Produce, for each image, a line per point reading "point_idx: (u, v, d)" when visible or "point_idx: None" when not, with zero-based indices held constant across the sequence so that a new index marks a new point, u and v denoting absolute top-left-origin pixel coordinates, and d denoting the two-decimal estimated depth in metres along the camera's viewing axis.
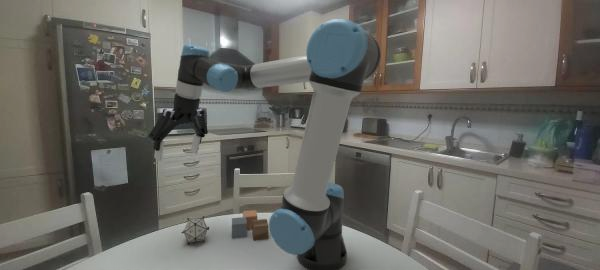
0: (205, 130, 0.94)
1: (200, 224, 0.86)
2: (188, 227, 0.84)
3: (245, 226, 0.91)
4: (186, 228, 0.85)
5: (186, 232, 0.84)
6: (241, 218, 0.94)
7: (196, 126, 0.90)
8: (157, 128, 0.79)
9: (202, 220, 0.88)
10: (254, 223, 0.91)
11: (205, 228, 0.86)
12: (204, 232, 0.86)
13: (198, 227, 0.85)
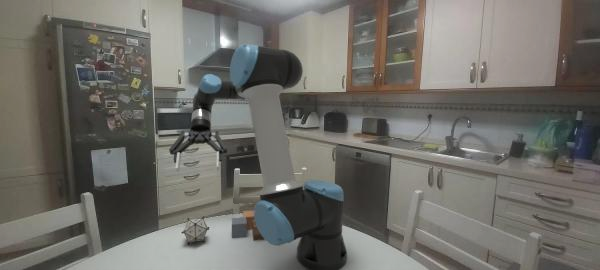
0: (223, 146, 1.01)
1: (200, 224, 0.86)
2: (188, 227, 0.84)
3: (245, 226, 0.91)
4: (186, 228, 0.85)
5: (186, 232, 0.84)
6: (241, 218, 0.94)
7: (212, 142, 1.01)
8: None
9: (202, 220, 0.88)
10: (254, 223, 0.91)
11: (205, 228, 0.86)
12: (204, 232, 0.86)
13: (198, 227, 0.85)
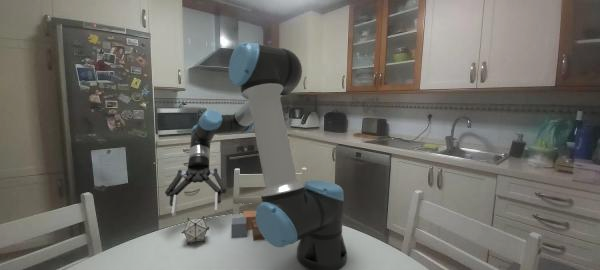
0: (222, 186, 0.96)
1: (200, 224, 0.86)
2: (188, 227, 0.84)
3: (244, 226, 0.91)
4: (186, 228, 0.85)
5: (186, 232, 0.84)
6: (241, 218, 0.94)
7: (210, 182, 0.96)
8: None
9: (202, 220, 0.88)
10: (254, 223, 0.91)
11: (205, 228, 0.86)
12: (204, 232, 0.86)
13: (198, 227, 0.85)
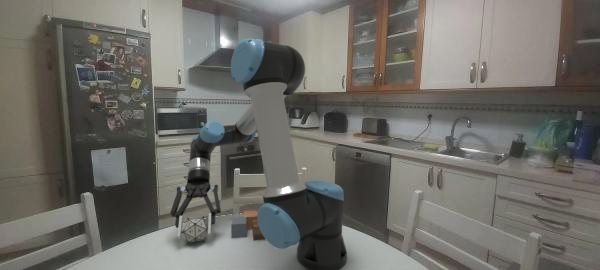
0: (217, 205, 0.90)
1: (199, 224, 0.85)
2: (188, 227, 0.84)
3: (244, 226, 0.91)
4: (186, 228, 0.85)
5: (186, 232, 0.84)
6: (241, 218, 0.94)
7: (207, 199, 0.90)
8: None
9: (202, 220, 0.88)
10: (254, 223, 0.91)
11: (205, 228, 0.86)
12: (204, 232, 0.86)
13: (198, 227, 0.85)
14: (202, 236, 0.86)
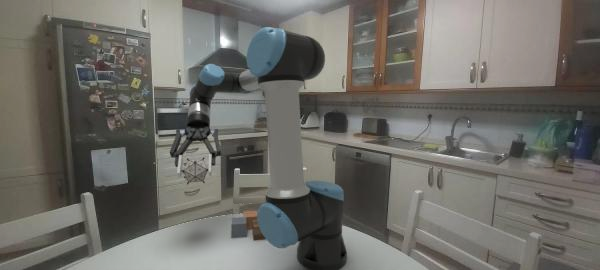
0: (218, 148, 0.88)
1: (200, 164, 0.83)
2: (188, 166, 0.82)
3: (244, 226, 0.91)
4: (186, 167, 0.83)
5: (186, 170, 0.82)
6: (241, 218, 0.94)
7: (207, 142, 0.88)
8: None
9: (202, 161, 0.86)
10: (254, 223, 0.91)
11: (205, 168, 0.84)
12: (204, 172, 0.84)
13: (198, 166, 0.83)
14: (202, 176, 0.84)
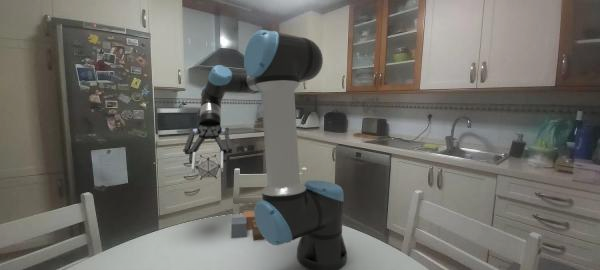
0: (229, 145, 0.93)
1: (212, 160, 0.89)
2: (201, 162, 0.88)
3: (245, 226, 0.91)
4: (199, 163, 0.88)
5: (199, 166, 0.87)
6: (241, 218, 0.94)
7: (218, 139, 0.94)
8: None
9: (214, 158, 0.91)
10: (254, 223, 0.91)
11: (217, 164, 0.89)
12: (216, 168, 0.89)
13: (211, 162, 0.88)
14: (215, 172, 0.89)
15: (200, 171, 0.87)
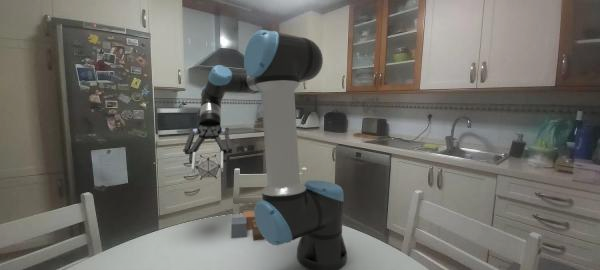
0: (229, 145, 0.93)
1: (212, 160, 0.89)
2: (201, 162, 0.88)
3: (245, 226, 0.91)
4: (199, 163, 0.88)
5: (199, 166, 0.87)
6: (241, 218, 0.94)
7: (218, 139, 0.94)
8: None
9: (214, 158, 0.91)
10: (254, 223, 0.91)
11: (217, 164, 0.89)
12: (216, 168, 0.89)
13: (211, 162, 0.88)
14: (215, 172, 0.89)
15: (200, 171, 0.87)
